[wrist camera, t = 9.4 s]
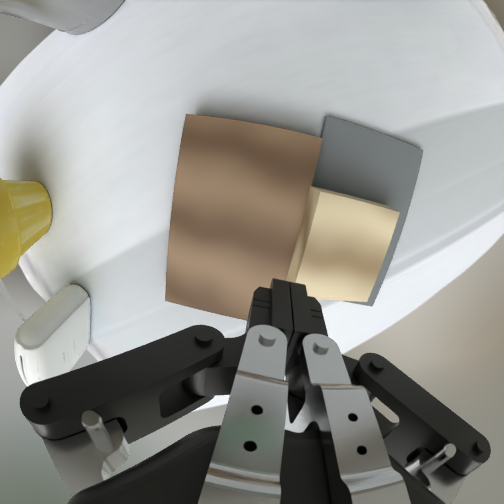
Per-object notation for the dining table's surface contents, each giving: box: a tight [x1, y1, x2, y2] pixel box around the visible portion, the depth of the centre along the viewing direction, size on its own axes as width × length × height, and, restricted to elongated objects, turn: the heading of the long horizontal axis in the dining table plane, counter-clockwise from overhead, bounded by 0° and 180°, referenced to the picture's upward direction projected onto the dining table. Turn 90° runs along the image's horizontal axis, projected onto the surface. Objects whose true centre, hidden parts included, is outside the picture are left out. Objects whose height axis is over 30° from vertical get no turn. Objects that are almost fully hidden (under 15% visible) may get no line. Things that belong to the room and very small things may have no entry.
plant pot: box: [0, 178, 52, 279], centre depth 19 cm, size 10×10×10 cm
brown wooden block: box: [165, 114, 322, 320], centre depth 21 cm, size 16×10×2 cm, turn 169°
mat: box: [312, 116, 423, 306], centre depth 21 cm, size 15×9×1 cm, turn 169°
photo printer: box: [14, 285, 91, 387], centre depth 23 cm, size 10×4×12 cm, turn 156°
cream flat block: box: [286, 186, 400, 302], centre depth 20 cm, size 8×7×2 cm
